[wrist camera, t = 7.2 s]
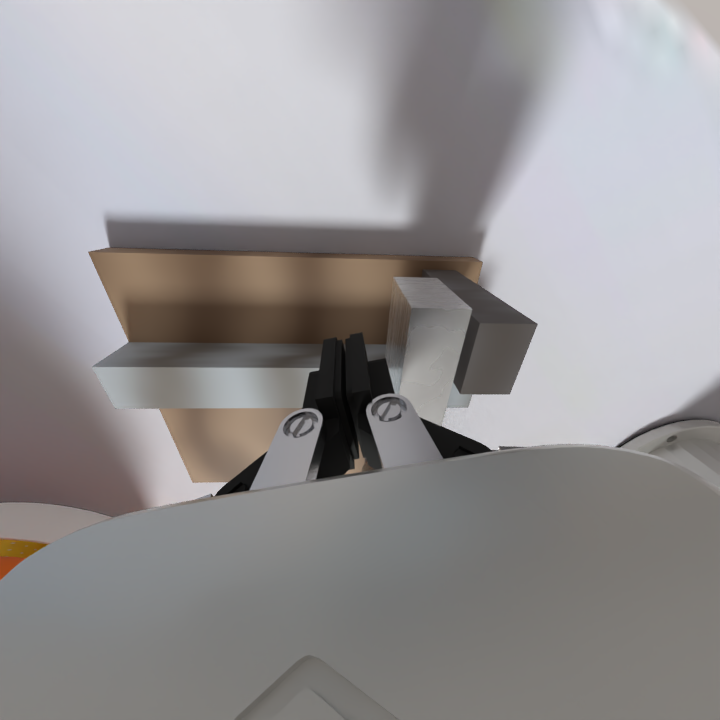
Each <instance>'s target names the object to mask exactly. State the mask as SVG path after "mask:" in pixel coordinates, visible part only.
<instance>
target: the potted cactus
mask: <svg viewBox="0 0 720 720" xmlns="http://www.w3.org/2000/svg"><path fill="white" fill-rule="evenodd" d="M109 518H113V517H110V516H107V515H103V514H100V513H96V512H92V511H88V510H83V509H78V508H73V507H67V506H61V505H53V504H43V503H27V502H9V503H0V580H1V579H2V578H3V577H4V576H5V575H7V574H8V573H9V572H10V571H11V570H12V569H13V568H14V567H15V566H17V565H18V564H19V563H20V562H22V561H23V560H24V559H26V558H27V557H29V556H30V555H32V554H34V553H35V552H37V551H38V550H40V549H42V548H43V547H45V546H47V545H49V544H50V543H52V542H54V541H56V540H58V539H60V538H62V537H64V536H66V535H69V534H71V533H73V532H75V531H77V530H79V529H82V528H84V527H87V526H90V525H92V524H95V523H98V522H100V521H103V520H106V519H109Z"/></svg>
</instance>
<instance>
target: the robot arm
mask: <svg viewBox="0 0 720 720" xmlns="http://www.w3.org/2000/svg"><path fill="white" fill-rule="evenodd" d="M358 441H359V442H358ZM359 445H360V448H361V452H362V456H363V458H366V459H367V462H368V465H369V466H370V467H372V468H373V469H375V470H370V471H364V472H358V473H352V474H346V475H344V474H345V473H346V472H347V471H348V470H352V469H355V461H354V460H355V459H359ZM0 720H720V423H718V422H716V421H710V420H687V421H680V422H676V423H672V424H668V425H664V426H661V427H659V428H656V429H653V430H650V431H648V432H646V433H644V434H642V435H640V436H638V437H636V438H634V439H633V440H631V441H629V442H627V443H626V444H624V445H623V446H622V447H620V448H617V447H609V446H601V445H584V444H557V445H541V446H533V447H504V446H499V450H490V449H489V448H488V447H487V446H485V445H483V444H481V443H479V442H477V441H475V440H472V439H470V438H468V437H465V436H463V435H461V434H458V433H456V432H453V431H451V430H449V429H446V428H444V427H442V426H439V425H437V424H435V423H432V422H430V421H428V420H425V419H423V418H421V417H419V416H418V414H417V412H416V411H415V409H414V407H413V405H412V404H411V402H410V401H409V400H408V399H407V398H406V397H404V396H402V395H399V394H395V392H394V388H393V384H392V381H391V377H390V373H389V369H388V365H387V361H386V358H383V359H378V360H372V361H368V358H367V353H366V348H365V343H364V338H363V333H362V332H361V333H355V334H350V338H347V339H345V349H344V344H343V341H342V340H337V337H334V338H329V339H324V340H323V347H322V354H321V361H320V368H319V370H318V371H313V372H310V373H309V377H308V382H307V387H306V392H305V397H304V402H303V407H302V409H300V410H298V411H295V412H293V413H291V414H290V415H288V416H287V417H286V418H285V419H284V420H283V421H282V422H281V424H280V426H279V428H278V430H277V432H276V434H275V436H274V438H273V441H272V443H271V445H270V447H269V449H268V451H267V452H265V453H264V454H263V455H262V456H260V457H259V458H258V459H257V460H255V461H254V462H253V463H252V464H250V465H249V466H248V467H247V468H245V469H244V470H243V471H242V472H240V473H239V474H238V475H237V476H236V477H234V478H233V479H232V480H231V481H229V482H228V483H227V484H226V485H224V486H223V487H222V488H221V489H220V490H219V491H218V492H217V494H216V495H215V496H214V497H213V495H212V494H209V495H206V496H204V497H201V498H198V499H195V500H192V501H186V502H180V503H175V504H169V505H165V506H160V507H155V508H150V509H145V510H141V511H136V512H131V513H127V514H123V515H120V516H116V517H113V518H109V519H106V520H103V521H100V522H98V523H95V524H92V525H90V526H87V527H84V528H82V529H79V530H77V531H75V532H73V533H71V534H69V535H66V536H64V537H62V538H60V539H58V540H56V541H54V542H52V543H50V544H49V545H47V546H45V547H43V548H42V549H40V550H38V551H37V552H35V553H34V554H32V555H30V556H29V557H27V558H26V559H24V560H23V561H22V562H20V563H19V564H18V565H17V566H15V567H14V568H13V569H12V570H11V571H10V572H9V573H8V574H7V575H5V576H4V577H3V578H2V579H1V580H0Z"/></svg>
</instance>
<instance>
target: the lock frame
mask: <svg viewBox="0 0 720 720" xmlns="http://www.w3.org/2000/svg"><path fill="white" fill-rule="evenodd" d="M88 253H89V255H90V257H91V259H92V262H93V264H94V266H95V268H96V270H97V273H98V275H99V277H100V279H101V281H102V284H103V286H104V288H105V290H106V292H107V295H108V297H109V299H110V301H111V303H112V306H113V308H114V310H115V312H116V314H117V317H118V319H119V321H120V323H121V325H122V328H123V330H124V332H125V334H126V336H127V339H128V341H129V343H127V344H126V345H124V346H123V347H121V348H120V349H118V350H117V351H115V352H114V353H112V354H111V355H109V356H108V357H106V358H105V359H103V360H102V361H100V362H99V363H97V364H96V365H94V366H93V367H92V369H93V370H94V372H95V374H96V376H97V377H98V379H99V381H100V383H101V385H102V386H103V388H104V390H105V392H106V393H107V395H108V397H109V399H110V401H111V402H112V404H113V406H114V408H115V409H160V411H161V414H162V416H163V418H164V420H165V422H166V425H167V427H168V429H169V431H170V433H171V436H172V438H173V440H174V442H175V444H176V447H177V449H178V451H179V453H180V455H181V458H182V460H183V462H184V464H185V467H186V469H187V471H188V473H189V475H190V478H191V480H192V482H193V483H198V482H229V481H231V480H232V479H233V478H234V477H236V476H237V475H238V474H239V473H240V472H242V471H243V470H244V469H245V468H247V467H248V466H249V465H250V464H252V463H253V462H254V461H255V460H257V459H258V458H259V457H260V456H262V455H263V454H264V453H265V452H267V451H268V449H269V447H270V445H271V443H272V441H273V438H274V436H275V434H276V432H277V430H278V428H279V426H280V424H281V422H282V421H283V420H284V419H285V418H286V417H287V416H288V415H290V414H291V413H293V412H295V411H298V410H300V409H302V407H303V402H304V397H305V392H306V387H307V382H308V377H309V373H310V372H313V371H318V370H319V368H320V361H321V354H322V347H323V340H324V339H329V338H334V337H337V340H342V341H343V344H344V349H345V339H347V338H350V334H355V333H361V332H362V333H363V338H364V343H365V348H366V353H367V358H368V361H372V360H378V359H383V358H385V353H386V343H387V334H388V324H389V314H390V304H391V294H392V284H393V277H420V278H438V279H439V280H440V281H441V282H442V283H443V284H444V285H446V286H447V287H448V288H449V289H450V290H451V291H452V292H454V293H455V294H456V295H457V296H458V297H459V298H460V299H461V300H463V301H464V302H465V303H466V304H467V305H468V306H469V307H471V308H472V313H471V316H470V320H469V324H468V328H467V331H466V335H465V339H464V343H463V347H462V350H461V354H460V358H459V362H458V365H457V369H456V373H455V377H454V381H453V384H452V388H451V392H450V396H449V399H448V403H447V407H446V408H461V407H468V406H469V403H470V400H471V397H472V394H510V392H511V390H512V387H513V385H514V382H515V380H516V377H517V375H518V372H519V370H520V367H521V365H522V362H523V360H524V357H525V354H526V352H527V349H528V347H529V344H530V342H531V339H532V337H533V334H534V332H535V329H536V327H537V323H535V322H534V321H532V320H531V319H529V318H528V317H526V316H525V315H523V314H522V313H520V312H518V311H517V310H515V309H514V308H512V307H511V306H509V305H508V304H506V303H505V302H503V301H502V300H500V299H499V298H497V297H496V296H494V295H493V294H491V293H490V292H488V291H487V290H485V289H484V288H482V287H481V286H479V285H478V284H477V283H478V279H479V275H480V271H481V267H482V263H483V262H482V261H479V260H477V259H475V258H473V257H443V256H405V255H368V254H330V253H292V252H254V251H217V250H179V249H141V248H105V249H100V250H95V251H90V252H88ZM358 442H359V441H358ZM354 461H355V469H352V470H348V471H347V472H346V473H345V474H344V475H346V474H352V473H358V472H362V471H361V470H362V466H363V465H364V463H365V462H366V461H367V459H366V458H363V456H362V452H361V448H360V445H359V459H355V460H354Z"/></svg>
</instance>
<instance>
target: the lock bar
mask: <svg viewBox="0 0 720 720" xmlns="http://www.w3.org/2000/svg"><path fill="white" fill-rule="evenodd" d="M471 313H472V308H471V307H469V306H468V305H467V304H466V303H465V302H464V301H463V300H461V299H460V298H459V297H458V296H457V295H456V294H455V293H454V292H452V291H451V290H450V289H449V288H448V287H447V286H446V285H444V284H443V283H442V282H441V281H440V280H439V279H438V278H420V277H393V284H392V294H391V304H390V314H389V324H388V334H387V343H386V353H385V358H386V361H387V365H388V369H389V373H390V377H391V381H392V384H393V388H394V392H395V394H399V395H402V396H404V397H406V398H407V399H408V400H409V401H410V402H411V404H412V405H413V407H414V409H415V411H416V412H417V414H418V416H419V417H421V418H423V419H425V420H428V421H430V422H432V423H435V424H437V425H439V426H442V422H443V418H444V415H445V411H446V407H447V403H448V399H449V396H450V392H451V388H452V384H453V381H454V377H455V373H456V369H457V365H458V362H459V358H460V354H461V350H462V347H463V343H464V339H465V335H466V331H467V328H468V324H469V320H470V316H471ZM370 470H375V469H373V468H372V467H370V466H369V465H368V462H367V461H366V462H365V463H364V465H363V466H362V470H361V471H362V472H364V471H370Z"/></svg>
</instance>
